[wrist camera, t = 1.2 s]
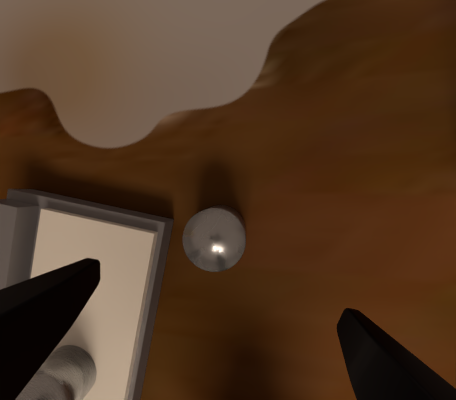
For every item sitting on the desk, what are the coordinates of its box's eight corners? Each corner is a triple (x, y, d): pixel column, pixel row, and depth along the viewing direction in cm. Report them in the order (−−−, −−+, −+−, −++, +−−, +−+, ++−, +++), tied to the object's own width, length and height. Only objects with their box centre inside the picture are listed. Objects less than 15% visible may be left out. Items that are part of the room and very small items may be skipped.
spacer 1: (92, 402, 20) (40, 472, 15) (43, 388, 20) (-23, 452, 15) (100, 352, 20) (51, 406, 15) (51, 339, 20) (-13, 387, 15)
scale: (140, 398, 23) (113, 451, 18) (6, 361, 24) (-51, 402, 19) (173, 219, 22) (154, 226, 17) (32, 189, 23) (-22, 188, 18)
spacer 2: (240, 258, 22) (238, 278, 17) (192, 247, 22) (177, 264, 17) (249, 210, 21) (251, 215, 16) (201, 200, 22) (188, 202, 17)
